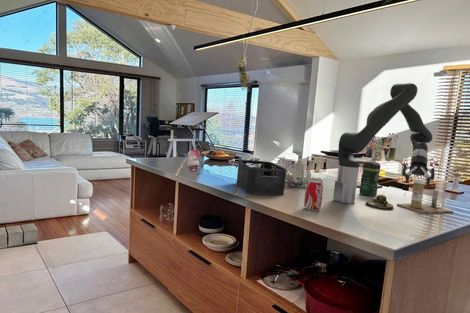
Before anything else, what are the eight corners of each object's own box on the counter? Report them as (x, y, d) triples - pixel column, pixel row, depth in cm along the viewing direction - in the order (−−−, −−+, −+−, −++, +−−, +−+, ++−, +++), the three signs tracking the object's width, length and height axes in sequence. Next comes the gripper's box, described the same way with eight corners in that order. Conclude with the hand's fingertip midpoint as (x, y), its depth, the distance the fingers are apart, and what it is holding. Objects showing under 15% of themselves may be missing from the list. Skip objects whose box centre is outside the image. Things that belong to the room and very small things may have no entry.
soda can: (311, 211, 132) (314, 182, 131) (299, 207, 138) (302, 179, 137) (324, 211, 135) (327, 182, 134) (312, 206, 141) (315, 179, 140)
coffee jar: (370, 197, 175) (375, 162, 173) (357, 193, 181) (361, 160, 179) (379, 195, 181) (383, 162, 179) (365, 192, 187) (369, 160, 185)
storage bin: (286, 196, 159) (288, 169, 158) (247, 194, 155) (250, 166, 154) (267, 184, 187) (270, 161, 186) (235, 183, 183) (237, 159, 182)
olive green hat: (360, 204, 156) (362, 188, 155) (378, 203, 161) (380, 188, 160) (380, 211, 145) (382, 194, 144) (399, 210, 150) (401, 194, 149)
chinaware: (327, 190, 193) (331, 162, 192) (317, 191, 179) (322, 161, 178) (283, 182, 208) (287, 156, 208) (272, 182, 194) (276, 154, 194)
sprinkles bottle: (409, 206, 153) (413, 178, 152) (411, 205, 156) (415, 177, 155) (420, 209, 150) (424, 180, 149) (422, 207, 154) (426, 179, 152)
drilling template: (422, 213, 145) (425, 194, 144) (396, 205, 158) (399, 187, 157) (453, 212, 153) (455, 194, 152) (426, 205, 166) (428, 187, 165)
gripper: (404, 153, 172) (402, 176, 163) (436, 156, 166) (435, 181, 157) (403, 162, 177) (400, 185, 168) (433, 165, 171) (432, 190, 162)
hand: (417, 183), depth 162 cm, fingers open, 8 cm apart
